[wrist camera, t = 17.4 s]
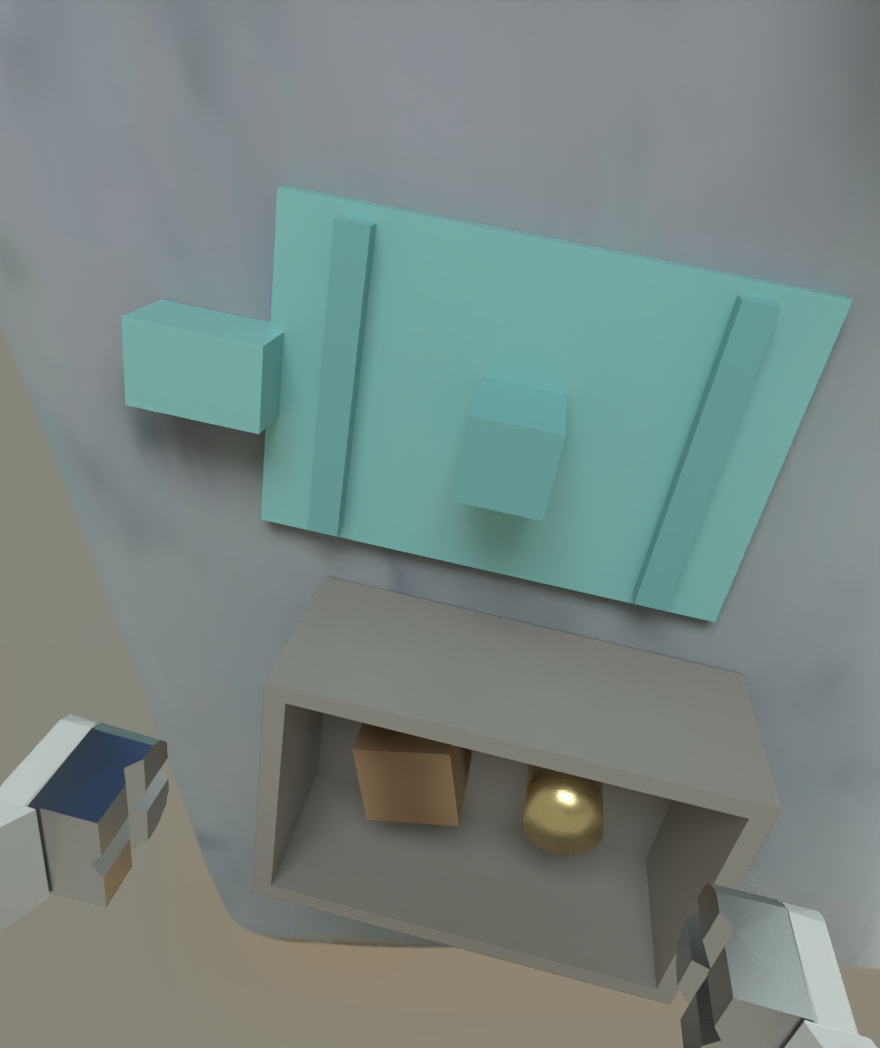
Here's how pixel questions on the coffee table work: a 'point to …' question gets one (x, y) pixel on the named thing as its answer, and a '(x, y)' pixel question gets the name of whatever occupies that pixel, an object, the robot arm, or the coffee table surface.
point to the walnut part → (410, 777)
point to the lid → (502, 396)
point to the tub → (508, 785)
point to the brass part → (562, 811)
